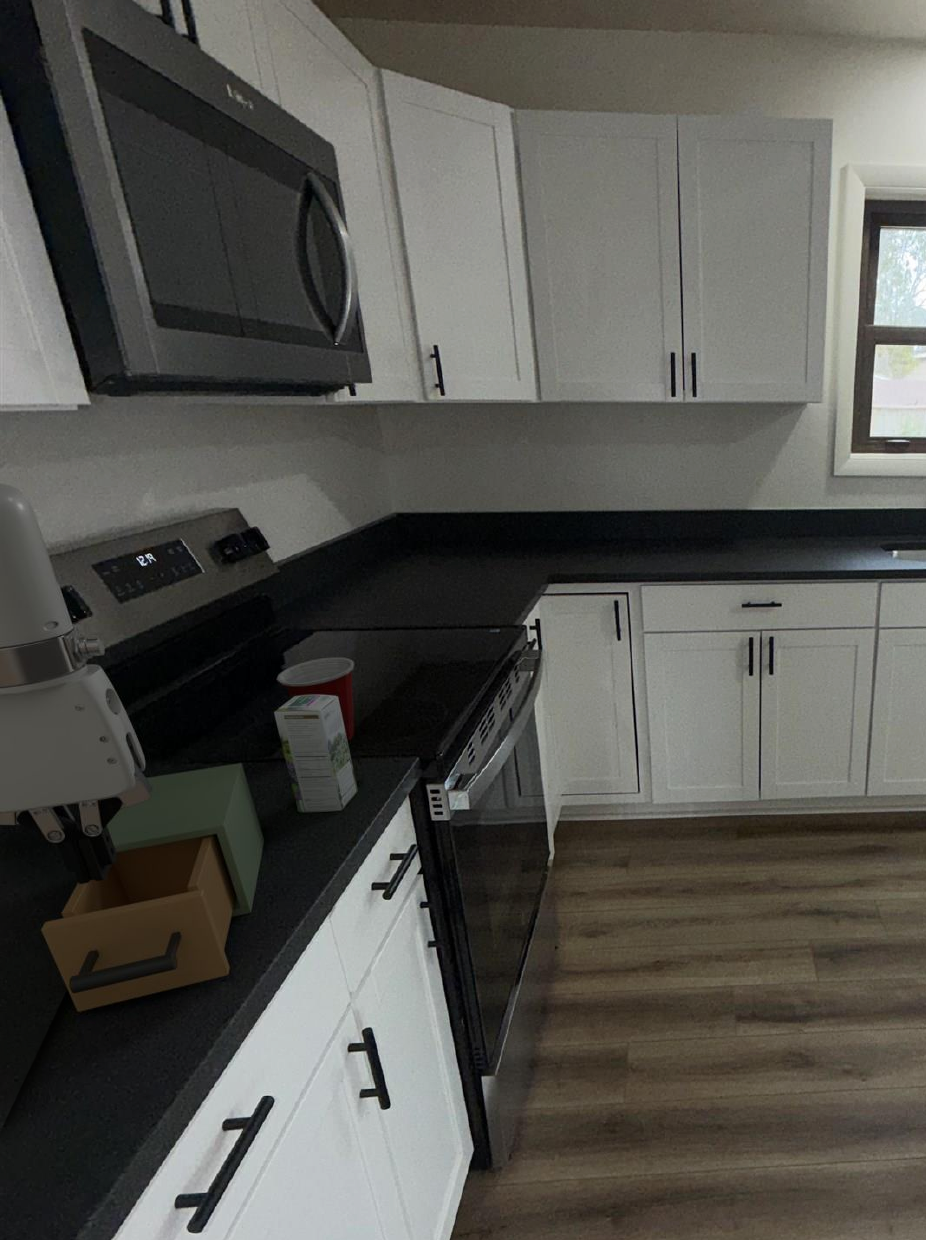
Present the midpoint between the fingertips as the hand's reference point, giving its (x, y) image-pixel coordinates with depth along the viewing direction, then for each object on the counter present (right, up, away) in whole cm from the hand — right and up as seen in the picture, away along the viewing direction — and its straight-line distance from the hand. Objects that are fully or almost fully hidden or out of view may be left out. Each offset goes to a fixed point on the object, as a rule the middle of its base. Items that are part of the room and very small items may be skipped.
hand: (96, 873), depth 66 cm
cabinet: (-8, -5, +23) cm, 25 cm away
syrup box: (-3, +3, +42) cm, 42 cm away
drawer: (-2, -10, +10) cm, 14 cm away
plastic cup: (-13, +12, +62) cm, 64 cm away
